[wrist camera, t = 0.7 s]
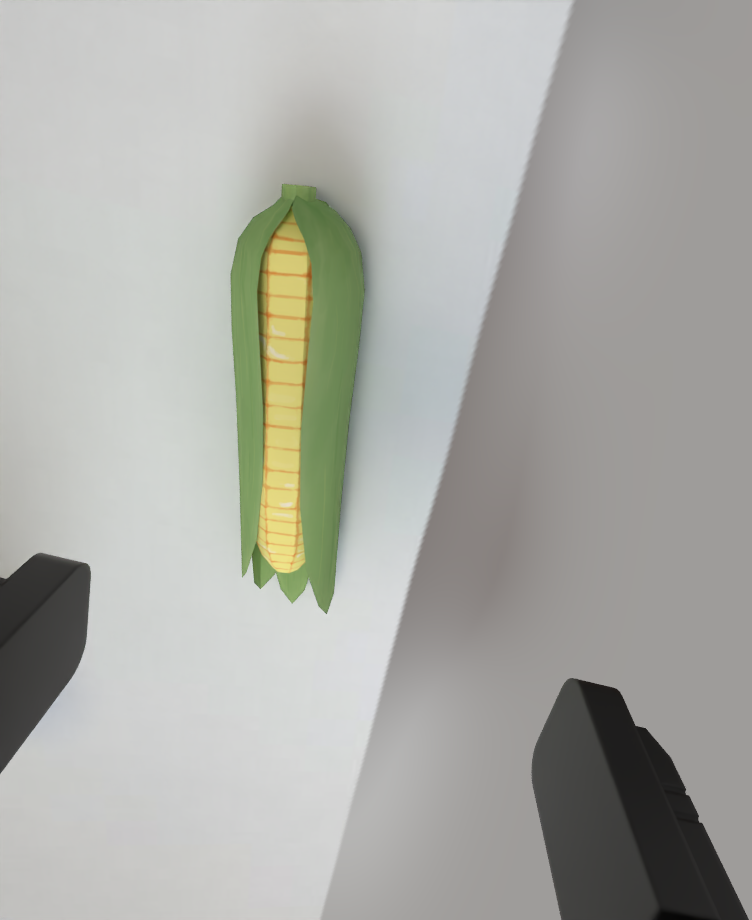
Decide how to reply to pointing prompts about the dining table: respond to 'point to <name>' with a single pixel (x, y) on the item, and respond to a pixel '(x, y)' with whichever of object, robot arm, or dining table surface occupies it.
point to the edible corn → (294, 386)
